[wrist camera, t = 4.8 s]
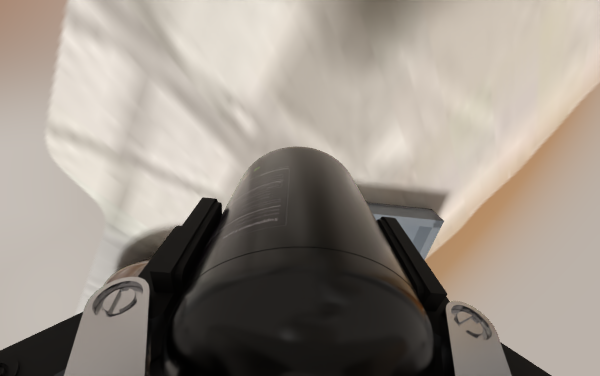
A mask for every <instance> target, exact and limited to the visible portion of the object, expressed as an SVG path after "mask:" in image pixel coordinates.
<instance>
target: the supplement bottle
mask: <svg viewBox="0 0 600 376" xmlns="http://www.w3.org/2000/svg"><path fill="white" fill-rule="evenodd" d="M160 366H161V376H434V375H435V369H436V343H435V337H434V331H433V328H432V325H431V322H430V319H429V317H428V315H427V313H426V311H425V308H424V307H423V305H422V303H421V300H420V298H419V296H418V295H417V293H416V291H415V289H414V287H413V286H412V284H411V282H410V280H409V278H408V276H407V275H406V273H405V271H404V269H403V267H402V266H401V264H400V262H399V260H398V258H397V257H396V255H395V253H394V251H393V249H392V248H391V246H390V244H389V242H388V240H387V239H386V237H385V235H384V233H383V231H382V230H381V228H380V226H379V224H378V222H377V221H376V219H375V217H374V215H373V213H372V212H371V210H370V208H369V206H368V204H367V203H366V201H365V199H364V197H363V195H362V194H361V192H360V190H359V188H358V186H357V185H356V183H355V181H354V180H353V178H352V176H351V175H350V173H349V172H348V171H347V169H346V168H345V167H344V166H343V165H342V164H341V163H340V162H339V161H338V160H336V159H335V158H334V157H332V156H330V155H329V154H327V153H325V152H322V151H320V150H316V149H313V148H308V147H287V148H282V149H278V150H275V151H272V152H270V153H268V154H266V155H264V156H262V157H261V158H259V159H258V160H257V161H255V162H254V163H253V164H252V165H251V166H250V167H249V168H248V170H247V171H246V172H245V174H244V175H243V177H242V178H241V180H240V182H239V184H238V185H237V187H236V189H235V191H234V193H233V195H232V197H231V199H230V201H229V203H228V204H227V206H226V208H225V210H224V212H223V214H222V216H221V218H220V220H219V222H218V224H217V225H216V227H215V229H214V231H213V233H212V235H211V237H210V239H209V241H208V243H207V245H206V247H205V248H204V250H203V252H202V254H201V256H200V258H199V260H198V262H197V264H196V266H195V268H194V269H193V271H192V273H191V275H190V277H189V279H188V281H187V283H186V285H185V287H184V289H183V291H182V292H181V294H180V296H179V298H178V300H177V303H176V305H175V307H174V309H173V311H172V313H171V315H170V318H169V320H168V322H167V324H166V327H165V330H164V334H163V338H162V343H161V354H160Z"/></svg>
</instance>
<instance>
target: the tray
mask: <svg viewBox="0 0 600 376" xmlns="http://www.w3.org/2000/svg"><path fill="white" fill-rule="evenodd" d="M366 203H367V202H366ZM367 204H368V206H369V208H370V210H371V212H372V213H373V215H374V217H375V219H376V220H377V219H380V218H381V217H392V218H396V219H397V221H398V222H399V224H400V225H401V227H402V228H403V230H404V231H405V233H406V234H407V235H408V237H409V238H410V240H411V241H412V243H413V244H414V246H415V247H416V249H417V250H418V252H419V253H420V255H421V256H422V257H423V259H424V260H425V258H426V256H427V254H428V252H429V250H430V248H431V246H432V244H433V242H434V240H435V238H436V236H437V234H438V232H439V230H440V228H441V226H442V224H443V222H444V221H443V220H442V219H441V218H440V217H439V216H438V215H437V214H436V213H435V212H434V211H433V210H432V209H423V208H414V207H404V206H395V205H385V204H376V203H367Z"/></svg>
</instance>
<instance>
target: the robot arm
mask: <svg viewBox="0 0 600 376" xmlns="http://www.w3.org/2000/svg"><path fill="white" fill-rule="evenodd" d="M221 216H222V204H221V203H219V202H218V201H217V199H213V198H202V199H201V200H200V202H199V203H198V204H197V206H196V207H195V209H194V210H193V211H192V213H191V214H190V216H189V217H188V218H187V220H186V221H185V223H184V224H183V225H182V226H176V227H175V228H174V229H173V230H172V232H171V233H170V234H169V236H168V237H167V238H166V240H165V241H164V242H163V244H162V245H161V246H160V248H159V249H158V250H157V252H156V253H155V254H154V256H153V257H152V258H151V260H150V261H149V262H148V263H147V265H146V266H145V267H144V269H143V270H142V271H141V273H140V274H139V275H138V277H125V278H121V279H118V280H115V281H112V282H110V283H108V284H106V285H104V286H103V287H101V288H100V289H99V290H97V291H96V292H95V293H94V294H93V295H92V296H91V297H90V298H89V300H88V302H87V304H86V306H85V308H84V311H83V312H82V313H80V314H77V315H75V316H73V317H71V318H69V319H67V320H65V321H62V322H60V323H58V324H56V325H54V326H52V327H50V328H48V329H45V330H43V331H41V332H39V333H37V334H35V335H33V336H31V337H29V338H26V339H24V340H22V341H20V342H18V343H16V344H13V345H12V346H9V347H7V348H5V349H3V350H0V376H161V366H160V354H161V343H162V338H163V334H164V330H165V327H166V324H167V322H168V320H169V318H170V315H171V313H172V311H173V309H174V307H175V305H176V303H177V300H178V298H179V296H180V294H181V292H182V291H183V289H184V287H185V285H186V283H187V281H188V279H189V277H190V275H191V273H192V271H193V269H194V268H195V266H196V264H197V262H198V260H199V258H200V256H201V254H202V252H203V250H204V248H205V247H206V245H207V243H208V241H209V239H210V237H211V235H212V233H213V231H214V229H215V227H216V225H217V224H218V222H219V220H220V218H221ZM376 221H377V222H378V224H379V226H380V228H381V230H382V231H383V233H384V235H385V237H386V239H387V240H388V242H389V244H390V246H391V248H392V249H393V251H394V253H395V255H396V257H397V258H398V260H399V262H400V264H401V266H402V267H403V269H404V271H405V273H406V275H407V276H408V278H409V280H410V282H411V284H412V286H413V287H414V289H415V291H416V293H417V295H418V296H419V298H420V300H421V303H422V305H423V307H424V308H425V311H426V313H427V315H428V317H429V319H430V322H431V325H432V328H433V331H434V337H435V343H436V369H435V375H434V376H551V375H550V374H548V373H546V372H545V371H544V370H542V369H540V368H539V367H537V366H536V365H534V364H533V363H531V362H530V361H528V360H527V359H525V358H524V357H522V356H520V355H519V354H518V353H516V352H514V351H513V350H511V349H510V348H508V347H507V346H505V345H504V344H502V343H501V342H500V340H499V337H498V334H497V332H496V330H495V328H494V326H493V325H492V323H491V322H490V321H489V319H488V318H487V317H485V316H484V315H483V314H482V313H481V312H480V311H478V310H477V309H476V308H474V307H472V306H470V305H468V304H466V303H463V302H460V301H451V302H450V301H449V300H448V298H447V297H446V296H447V293H446V291H445V290H444V288H443V287H442V285H441V284H440V283H439V281H438V280H437V278H436V277H435V275H434V274H433V272H432V271H431V269H430V268H429V266H428V265H427V263H426V262H425V260H424V259H423V257H422V256H421V255H420V253H419V252H418V250H417V249H416V247H415V246H414V244H413V243H412V241H411V240H410V238H409V237H408V235H407V234H406V233H405V231H404V230H403V228H402V227H401V225H400V224H399V222H398V221H397V219H396V218H392V217H381V218H380V219H377V220H376Z"/></svg>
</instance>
